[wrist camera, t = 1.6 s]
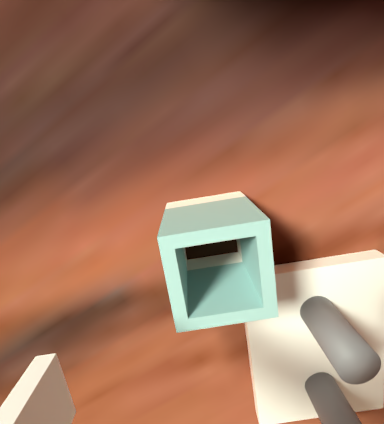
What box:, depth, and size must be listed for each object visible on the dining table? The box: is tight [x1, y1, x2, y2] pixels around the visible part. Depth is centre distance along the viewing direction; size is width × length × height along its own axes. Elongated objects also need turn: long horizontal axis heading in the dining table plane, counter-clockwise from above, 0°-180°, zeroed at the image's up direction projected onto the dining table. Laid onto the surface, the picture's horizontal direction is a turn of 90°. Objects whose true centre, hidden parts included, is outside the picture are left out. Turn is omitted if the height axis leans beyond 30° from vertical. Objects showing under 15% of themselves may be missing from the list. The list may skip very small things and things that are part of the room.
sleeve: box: [157, 191, 279, 333], centre depth 19 cm, size 6×6×8 cm
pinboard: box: [245, 250, 384, 424], centre depth 22 cm, size 16×12×8 cm
